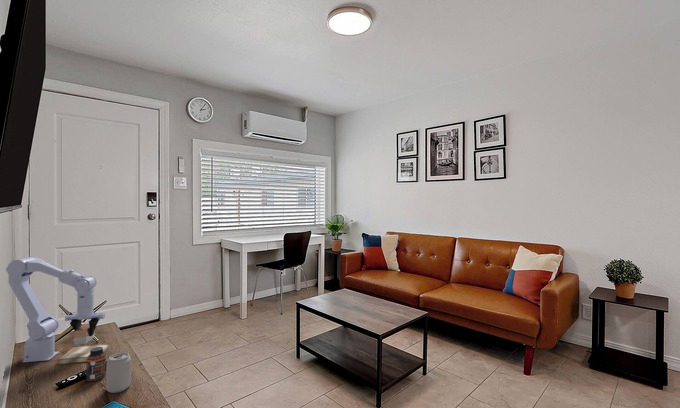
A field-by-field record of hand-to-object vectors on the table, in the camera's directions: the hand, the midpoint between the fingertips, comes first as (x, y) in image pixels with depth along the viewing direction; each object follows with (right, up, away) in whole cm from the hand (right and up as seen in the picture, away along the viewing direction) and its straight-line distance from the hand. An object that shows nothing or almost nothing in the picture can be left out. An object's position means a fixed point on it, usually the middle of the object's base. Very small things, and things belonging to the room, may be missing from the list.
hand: (85, 335), depth 149 cm
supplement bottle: (+18, -9, -19) cm, 28 cm away
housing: (0, -2, 0) cm, 2 cm away
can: (+31, -10, -26) cm, 42 cm away
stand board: (0, -9, 0) cm, 9 cm away
